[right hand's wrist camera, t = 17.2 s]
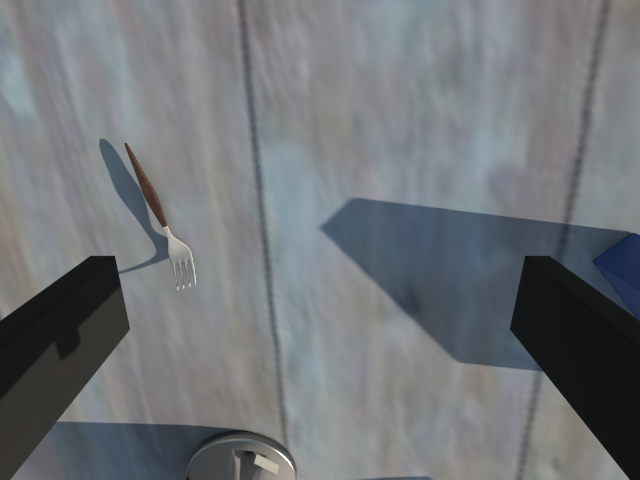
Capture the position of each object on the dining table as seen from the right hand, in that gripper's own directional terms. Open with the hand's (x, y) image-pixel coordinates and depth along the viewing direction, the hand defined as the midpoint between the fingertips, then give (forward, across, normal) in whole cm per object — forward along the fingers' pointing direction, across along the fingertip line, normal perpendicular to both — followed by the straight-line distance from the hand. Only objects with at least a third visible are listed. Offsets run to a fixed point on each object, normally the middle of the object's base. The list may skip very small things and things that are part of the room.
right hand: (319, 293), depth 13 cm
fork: (+28, +17, +6) cm, 34 cm away
